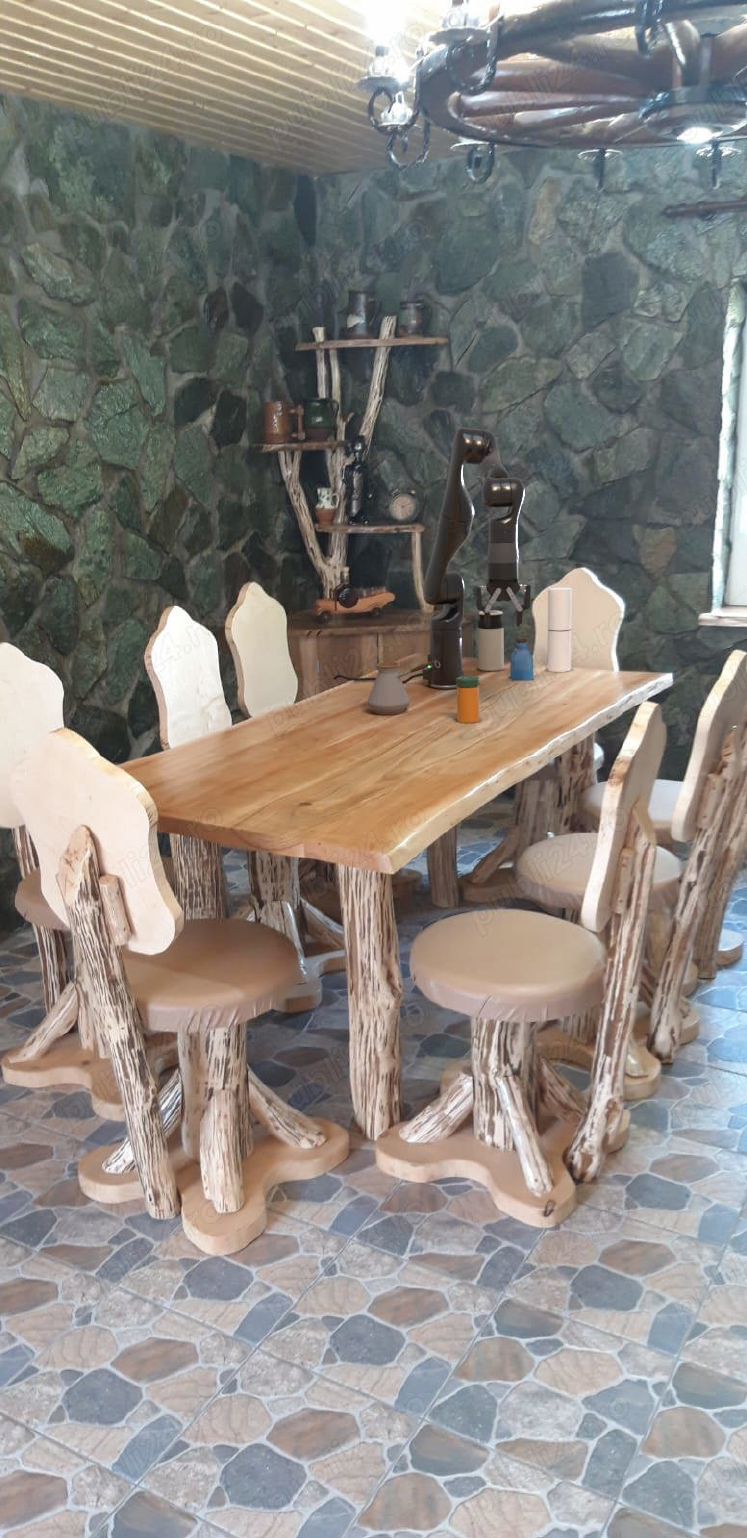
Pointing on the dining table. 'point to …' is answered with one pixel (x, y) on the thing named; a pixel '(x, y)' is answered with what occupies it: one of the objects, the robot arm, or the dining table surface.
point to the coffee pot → (391, 689)
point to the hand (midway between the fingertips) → (503, 626)
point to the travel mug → (491, 642)
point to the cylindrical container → (559, 629)
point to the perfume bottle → (521, 661)
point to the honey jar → (468, 704)
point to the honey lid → (467, 681)
